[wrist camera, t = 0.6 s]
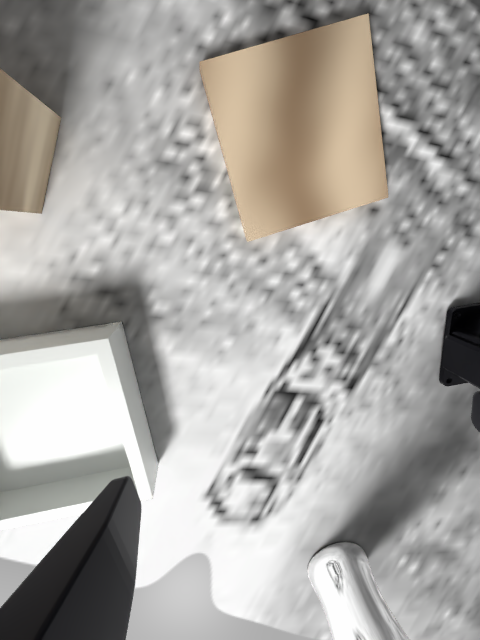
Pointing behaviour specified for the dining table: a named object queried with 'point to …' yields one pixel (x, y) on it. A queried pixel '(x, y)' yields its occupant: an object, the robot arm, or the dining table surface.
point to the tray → (69, 423)
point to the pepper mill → (24, 147)
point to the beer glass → (351, 595)
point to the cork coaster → (299, 126)
